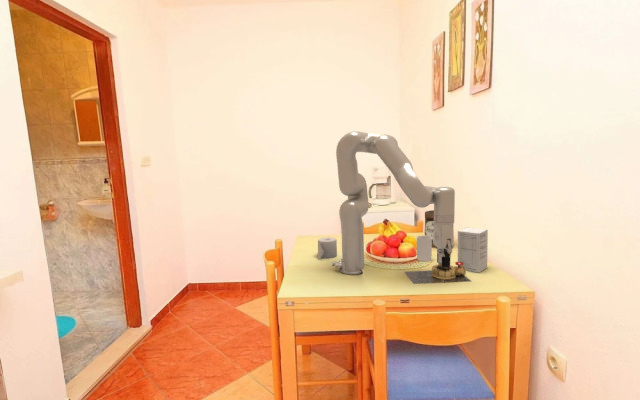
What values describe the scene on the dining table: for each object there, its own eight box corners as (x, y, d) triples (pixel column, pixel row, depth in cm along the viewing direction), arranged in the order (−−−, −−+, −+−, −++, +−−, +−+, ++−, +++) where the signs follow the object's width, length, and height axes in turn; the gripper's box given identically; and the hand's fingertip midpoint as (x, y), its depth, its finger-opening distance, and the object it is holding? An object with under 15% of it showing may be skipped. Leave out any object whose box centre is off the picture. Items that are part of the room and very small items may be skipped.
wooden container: (423, 247, 187) (423, 206, 184) (426, 240, 200) (426, 202, 198) (452, 249, 181) (453, 207, 178) (453, 242, 194) (454, 203, 192)
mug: (431, 265, 157) (431, 239, 155) (416, 264, 159) (416, 238, 157) (432, 258, 166) (432, 234, 165) (417, 258, 168) (417, 233, 167)
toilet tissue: (316, 261, 170) (315, 243, 168) (320, 253, 183) (319, 237, 182) (334, 261, 168) (334, 243, 167) (337, 253, 181) (337, 237, 180)
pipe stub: (439, 273, 136) (440, 250, 135) (435, 269, 140) (435, 247, 139) (451, 272, 136) (451, 250, 135) (447, 268, 141) (447, 247, 139)
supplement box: (488, 267, 151) (488, 229, 149) (479, 273, 144) (480, 233, 142) (465, 263, 158) (466, 226, 155) (456, 268, 151) (457, 230, 149)
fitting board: (413, 287, 131) (413, 270, 131) (404, 275, 145) (403, 259, 145) (471, 285, 132) (472, 268, 131) (456, 272, 146) (456, 257, 145)
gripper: (427, 215, 144) (427, 258, 146) (442, 223, 127) (441, 272, 130) (445, 215, 144) (444, 258, 146) (462, 222, 127) (462, 271, 130)
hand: (443, 264), depth 138 cm, fingers closed on pipe stub, 4 cm apart
